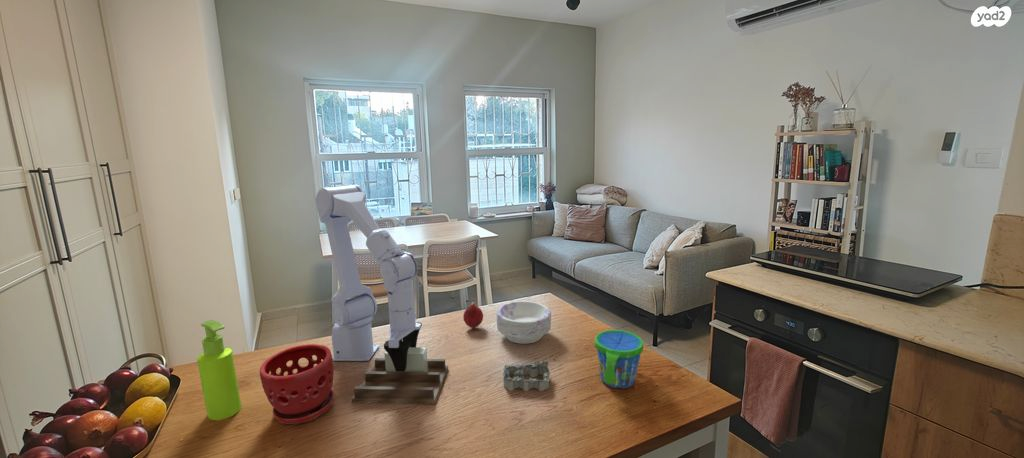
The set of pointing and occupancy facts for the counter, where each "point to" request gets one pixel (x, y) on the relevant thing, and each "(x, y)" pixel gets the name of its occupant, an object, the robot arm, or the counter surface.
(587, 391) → the counter surface
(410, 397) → the rack
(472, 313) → the onion
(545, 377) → the egg carton
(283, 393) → the plant pot
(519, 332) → the paper bowls
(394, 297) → the robot arm
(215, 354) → the soap dispenser
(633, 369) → the snack cup
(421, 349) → the pale green block
